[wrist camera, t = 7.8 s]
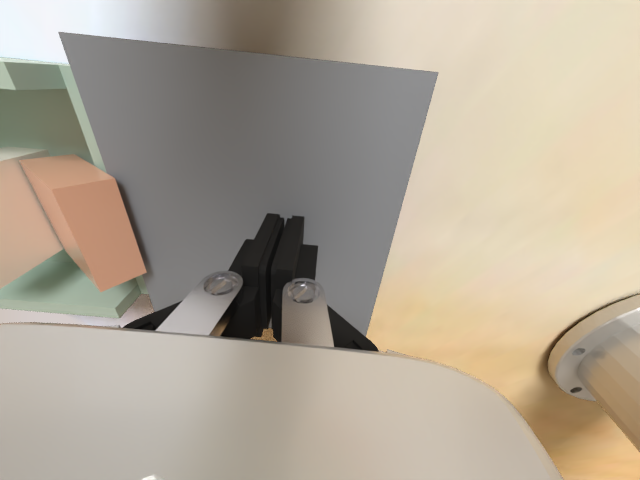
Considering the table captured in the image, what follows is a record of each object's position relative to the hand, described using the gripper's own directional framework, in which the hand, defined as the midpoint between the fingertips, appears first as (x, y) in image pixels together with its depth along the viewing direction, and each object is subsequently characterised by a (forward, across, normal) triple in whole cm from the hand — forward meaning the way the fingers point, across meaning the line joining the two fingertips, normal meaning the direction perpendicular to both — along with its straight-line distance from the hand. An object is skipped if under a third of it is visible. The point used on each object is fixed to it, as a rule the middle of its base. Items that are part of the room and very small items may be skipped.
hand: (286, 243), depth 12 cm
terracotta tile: (+2, +9, 0) cm, 9 cm away
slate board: (+4, +2, 0) cm, 4 cm away
